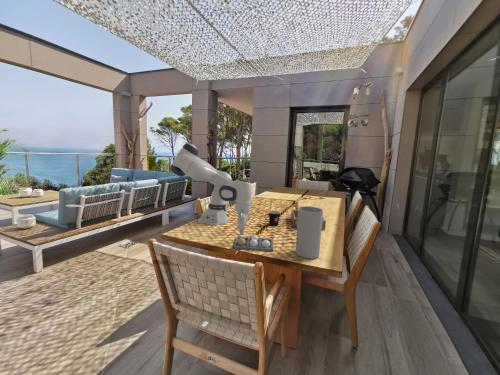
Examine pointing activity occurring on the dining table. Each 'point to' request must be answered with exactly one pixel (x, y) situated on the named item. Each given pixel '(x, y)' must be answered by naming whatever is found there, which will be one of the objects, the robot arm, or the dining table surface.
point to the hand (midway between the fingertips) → (242, 231)
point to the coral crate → (295, 219)
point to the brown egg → (241, 241)
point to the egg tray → (248, 247)
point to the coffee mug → (273, 218)
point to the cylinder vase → (309, 231)
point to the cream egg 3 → (266, 244)
